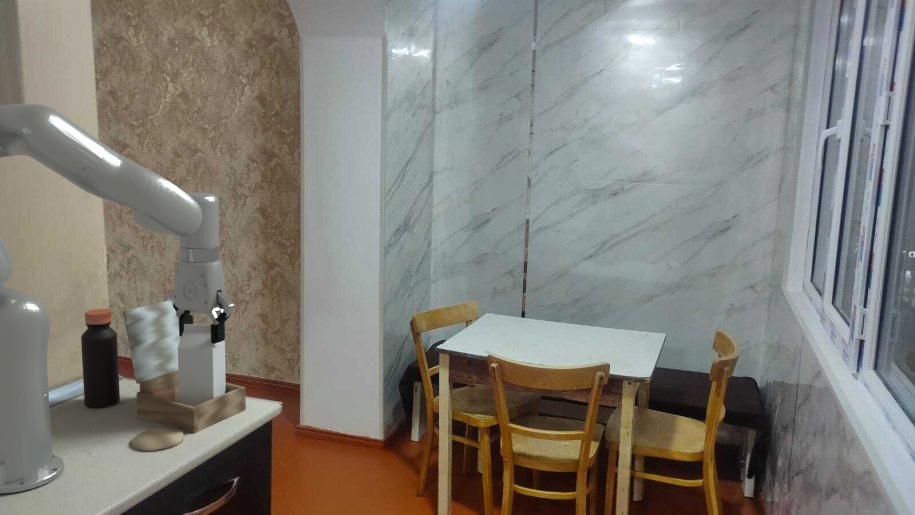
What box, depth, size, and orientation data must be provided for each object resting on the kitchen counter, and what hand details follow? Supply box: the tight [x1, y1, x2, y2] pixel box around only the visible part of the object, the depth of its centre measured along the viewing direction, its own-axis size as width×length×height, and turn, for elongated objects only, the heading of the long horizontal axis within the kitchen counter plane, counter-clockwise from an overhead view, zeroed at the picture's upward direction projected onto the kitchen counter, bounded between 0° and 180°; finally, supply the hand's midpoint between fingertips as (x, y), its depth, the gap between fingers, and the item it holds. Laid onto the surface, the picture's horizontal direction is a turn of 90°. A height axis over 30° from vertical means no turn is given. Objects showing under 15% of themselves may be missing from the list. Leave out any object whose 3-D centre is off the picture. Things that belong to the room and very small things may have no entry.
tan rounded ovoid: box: [152, 387, 175, 401], centre depth 144 cm, size 4×4×5 cm
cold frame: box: [122, 299, 247, 434], centre depth 145 cm, size 14×19×22 cm
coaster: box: [131, 427, 185, 452], centre depth 132 cm, size 9×9×1 cm
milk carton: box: [178, 323, 226, 406], centre depth 145 cm, size 7×7×19 cm
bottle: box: [80, 308, 121, 409], centre depth 148 cm, size 7×7×20 cm
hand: (202, 338), depth 143 cm, fingers closed on milk carton, 8 cm apart
